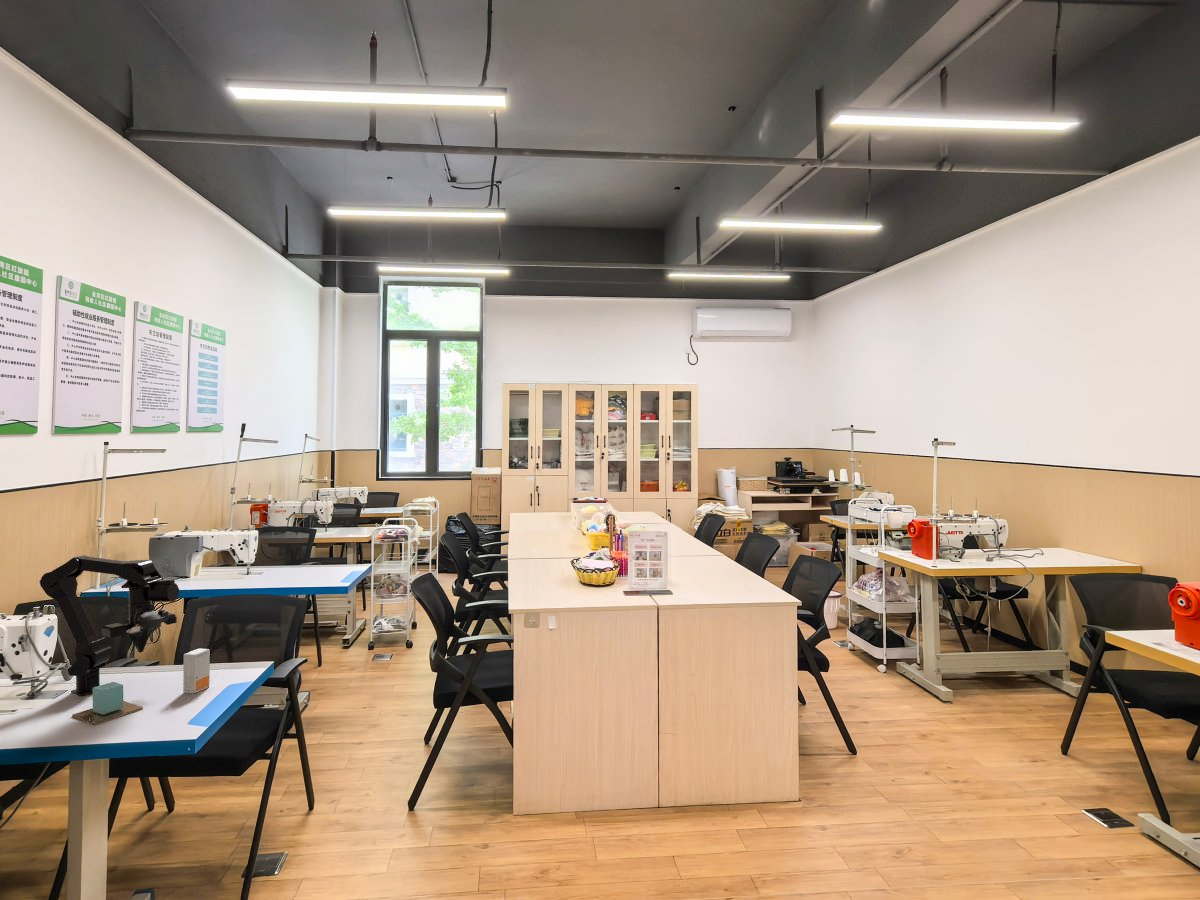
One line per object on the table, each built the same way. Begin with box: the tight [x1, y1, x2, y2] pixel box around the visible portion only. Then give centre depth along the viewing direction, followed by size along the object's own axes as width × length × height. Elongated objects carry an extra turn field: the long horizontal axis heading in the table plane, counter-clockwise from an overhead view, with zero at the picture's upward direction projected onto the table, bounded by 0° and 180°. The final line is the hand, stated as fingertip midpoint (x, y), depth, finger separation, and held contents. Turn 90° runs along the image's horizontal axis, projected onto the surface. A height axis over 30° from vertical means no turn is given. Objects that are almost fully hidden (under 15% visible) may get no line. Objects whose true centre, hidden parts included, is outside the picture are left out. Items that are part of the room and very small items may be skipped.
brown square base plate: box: [71, 700, 144, 726], centre depth 184 cm, size 12×12×7 cm
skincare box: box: [182, 647, 211, 694], centre depth 201 cm, size 6×4×12 cm
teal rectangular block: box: [92, 681, 124, 714], centre depth 184 cm, size 5×5×7 cm
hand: (140, 652), depth 200 cm, fingers closed
